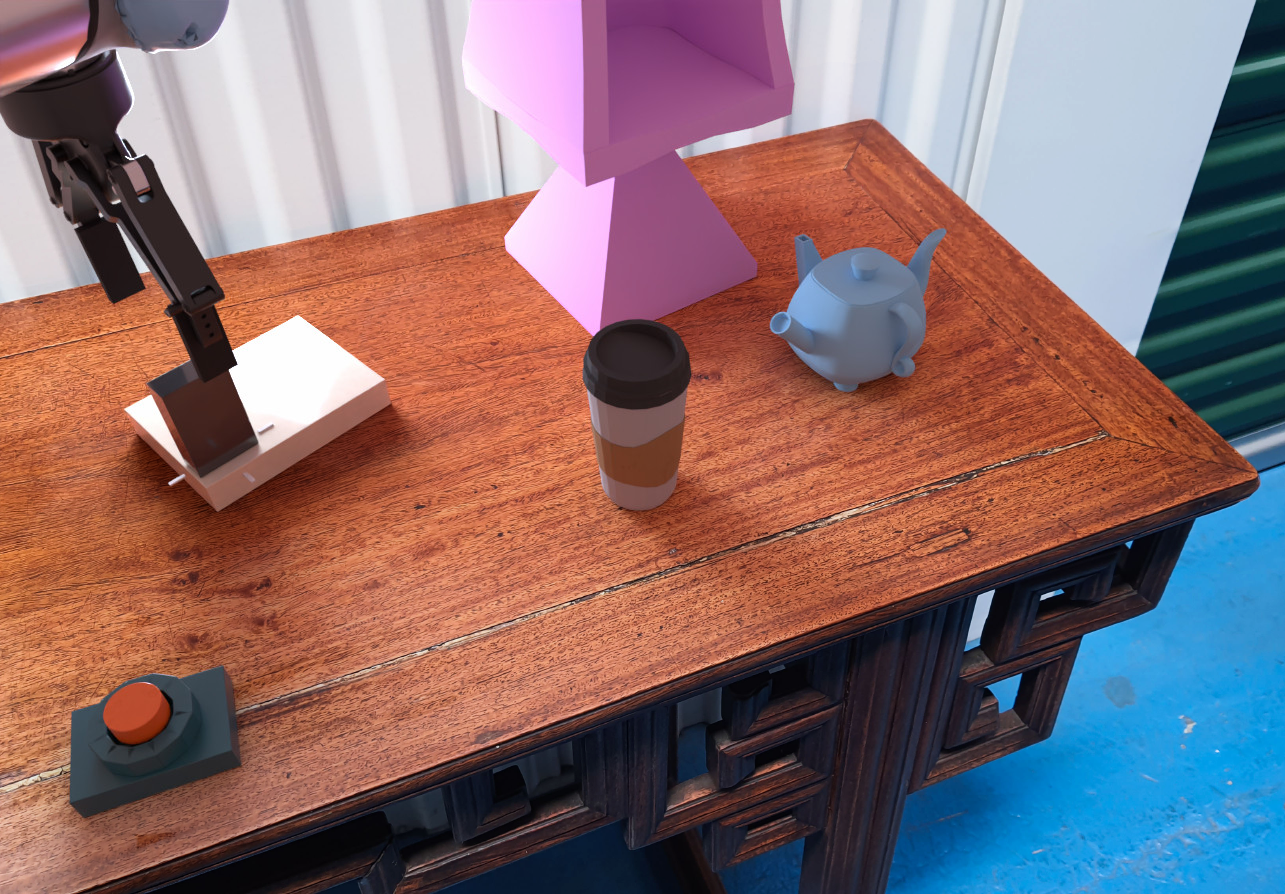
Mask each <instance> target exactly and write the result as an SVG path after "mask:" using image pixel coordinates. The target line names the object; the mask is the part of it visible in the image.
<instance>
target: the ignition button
mask: <svg viewBox="0 0 1285 894" xmlns="http://www.w3.org/2000/svg"><path fill="white" fill-rule="evenodd" d="M170 713H171V710H170V705H169V703H168V702H167V700H166V699H165V697H164V696H163V694H162V693H161V691H160V690H159V689H158V688H157V687H156V686H155V685H153V684H150V683H145V682H139V683H134V684H130V685H128V686H126V687H124V688H122V689H120V690H119V691H117V692H116V693H115V694H114V695H113V696H112V697H111V698H110V699H109V701H108V702H107V704H106V706H105V709H104V713H103V719H104V722H105V724H106V726H107V727H108V728H109V729H110V731H111V732H112V733H113V734H114V736H115V737H116V738H117V739H118V740H119V741H120V742H122V743H125V744H132V745H133V744H140V743H144V742H146V741H149V740H151V739H152V738H154V737H155V736H157V735H158V734H159V733H160V732H161V731H162V730H163V729H164V728H165V726H166V725H167V723H168V721H169V718H170Z"/></svg>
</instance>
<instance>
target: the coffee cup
mask: <svg viewBox="0 0 1285 894" xmlns="http://www.w3.org/2000/svg"><path fill="white" fill-rule="evenodd" d="M582 360H583V361H582V362H583V363H582V364H583V365H582V366H583V367H582V381H583V384H584V386H585V388H586V394H587V399H588V405H589V411H590V425H591V432H592V436H593V437H592V438H593V444H594V445H593V446H594V451H595V458H596V462H597V464H598V469H599V470H598V471H599V475H600V480H601V481H600V483H601V486H602V489H603V493H605V495H606V496H607V497H608V498H609V499H610V500H611V502H613V504H616V505H617V506H618V507H621V508H623V509H625V510H629V511H630V510H631V511H637V512H638V511H649V510H652V509H655V508H657V507H659V506H661V505H662V504H664V503H665V502H666V501H668V500H669V498H670V497H671V496H672V495H673V493H674V491H675V490H676V486H677V484H678V474H679V467H680V466H679V465H680V461H681V457H682V447H683V442H684V441H683V439H684V432H685V422H686V404H687V398H688V397H687V396H688V387H689V385H690V383H691V379H692V376H693V374H692V367H691V366H692V365H691V357H690V353H689V350H688V349H687V347H686V346H685V342H684V340H683V339H682V337H681V335H680V334H679V333H678V332H677V331H675V329H674V328H672V327H670V326H668V325H667V324H664V323H662V322H658V321H656V320H654V321H652V320H644V319H630V320H624V321H619V322H615V323H613V324H610V325H608V326H606V327H604V328H603V329H601V330H600V331H598V332H597V333H596V334H595V335H594V337H593V336H592V338H590V341H589V344H588V346H587V348H586V351H585V353H584V356H583V359H582Z"/></svg>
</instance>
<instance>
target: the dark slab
mask: <svg viewBox="0 0 1285 894" xmlns="http://www.w3.org/2000/svg"><path fill="white" fill-rule="evenodd" d="M145 385H146V387H147V389H148V391H149V393H150V395H152V397H153V399H154V401H155V403H156V405H157V407H158V409H159V411H160V413H161V415H162V417H163V420H164V422H165V424H166V426H167V428H168V430H169V432H170V434H171V436H172V438H173V440H174V442H175V444H176V446H177V448H178V450H179V452H180V454H181V456H182V458H183V460H184V462H185V464H186V465H187V466H188V467H189V468H190V469H191V470H192V471H194V472H195V473H196V474H197V475H198V476H199V477H200V478H202V477H204V476H205V475H207V474H209V473H210V472H212V471H214V470H215V469H217V468H219V467H220V466H222V465H224V464H225V463H227V462H229V461H230V460H232V459H234V458H235V457H237V456H239V455H240V454H242V453H244V452H245V451H247V450H249V449H250V448H252V447H254V446H255V445H257V444H259V442H258V439H257V437H256V435H255V432H254V430H253V427H252V425H251V422H250V420H249V417H248V415H247V413H246V410H245V408H244V405H243V403H242V400H241V398H240V395H239V393H238V390H237V388H236V386H235V383H234V381H233V378H232V376H231V373H230V371H229V370H228V371H226V372H224V373H222V374H221V375H219V376H217V377H215V378H213V379H212V380H210V381H208V382H206V383H204V382H203V381H201V380H200V379H199V377H198V375H197V372H196V370H195V368H194V366H193V363H192V361H191V359H188V360H187V361H185V362H183V363H181V364H179V365H178V366H176V367H174V368H172V369H170V370H168V371H166V372H164V373H163V374H161V375H159V376H157V377H155V378H153V379H151V380H149V381H147V382H146V383H145Z"/></svg>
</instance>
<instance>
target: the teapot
mask: <svg viewBox="0 0 1285 894" xmlns="http://www.w3.org/2000/svg"><path fill="white" fill-rule="evenodd" d="M946 234H947V229H946V228H944V227H942V228H938V229H935V230H933V231H931V232H930V233H929V234H928V235H927V236H926V237H924V239H923V240H922V241H921V242H920V244H919V246H918V247H917V249H916V251H915V252H914V254H913V256H912V257H911V259H910V261H909V262H908V264H907V265H905V264H903V263H902V262H901V261H899V260H898V259H896V258H895V257H893V256H891V255H890V254H888V253H887V252H885V251H883V250H881V249H878V248H876V247H869V246H865V247H863V246H862V247H856V248H851V249H847V250H843V251H840V252H838V253H834V254H833V255H830V256H828V257H827V258H825V259H823V258H822V257H821V254H820V252H819V251H818V249H817V247H816V245H815V243H814V242H813V241H814V239H813V238H811V237H809V236H808V235H806V233H802V234H799V235H796V236H794V237H793V238H794V239H793V240H794V250H795V251H794V252H795V259H796V269H797V280H798V287H797V289H796V291H795V292H794V294H793V295H792V298H791V300H790V302H789V304H788V307H787V309H786V311H779V312H776V313H775V314H774V315H773V316H772V317H771V319H770V322H769V329H770V331H771V332H772V333H774V334H775V335H776V336H778V337H780V338H782V339H783V340H785V341H786V342H787V343H788V345H789V347H790V348H791V349H792V351H793V353H795V355H796V356H797V357H798V358H799V359H800V360H801V361H802V362H803V363H804V364H805V365H807V366H808V367H809V368H810V369H812V370H813V371H814V372H815V373H816V374H818V375H819V376H821V377H823V378H825V379H826V380H828V381H830V382H831V383H833V386H834V387H835V388H836V389H837V390H838V391H840V392H844V393H851V392H854V391H856V390H857V389H858V387H859V384H864V383H867V382H872V381H875V380H878V379H880V378H884V377H886V376H888V375H889V374H891V373H893V375H895V376H897V377H899V378H909V377H911V376H912V375H913V374H914V373H915V371H916V365H915V361H913V359H912V358H913V357H914V356H915V355H916V354H917V353H918V351H919V350H920V348H921V347H922V346H923V344H924V341H925V337H926V331H927V330H926V329H927V311H926V305H925V301H924V296H925V294H926V291H927V288H928V284H929V278H930V272H931V265H932V259H933V256H934V253H935V251H936V249H937V247H938V246H939V244H940V243H941V241H942V240H943V239H944V238H945V236H946Z"/></svg>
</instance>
